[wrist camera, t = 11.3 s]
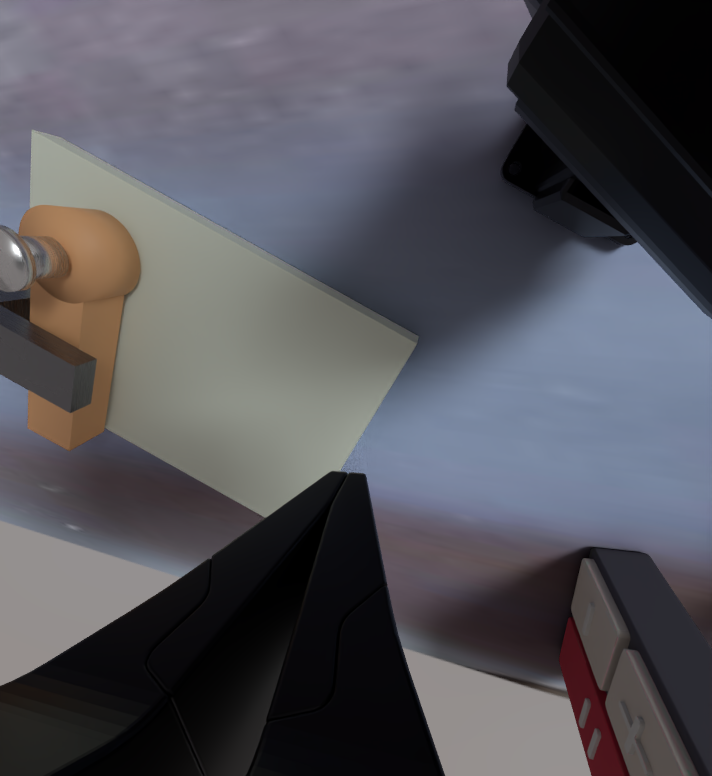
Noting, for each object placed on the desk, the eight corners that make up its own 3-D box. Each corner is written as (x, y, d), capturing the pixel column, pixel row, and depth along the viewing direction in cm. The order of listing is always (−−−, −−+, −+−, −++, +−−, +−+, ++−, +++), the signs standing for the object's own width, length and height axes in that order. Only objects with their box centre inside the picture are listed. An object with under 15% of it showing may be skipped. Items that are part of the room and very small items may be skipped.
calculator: (576, 542, 21) (812, 1058, 8) (658, 550, 20) (1087, 1156, 7) (551, 655, 25) (678, 1122, 12) (618, 667, 24) (839, 1190, 11)
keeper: (58, 189, 20) (-115, 166, 14) (180, 257, 20) (62, 265, 14) (50, 316, 24) (-89, 344, 17) (153, 374, 23) (50, 422, 17)
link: (71, 193, 18) (18, 186, 16) (146, 234, 18) (104, 233, 16) (57, 405, 24) (18, 422, 22) (112, 436, 24) (79, 456, 22)
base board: (61, 137, 19) (31, 129, 17) (418, 336, 19) (417, 343, 17) (47, 376, 26) (25, 383, 24) (306, 521, 26) (299, 536, 24)
